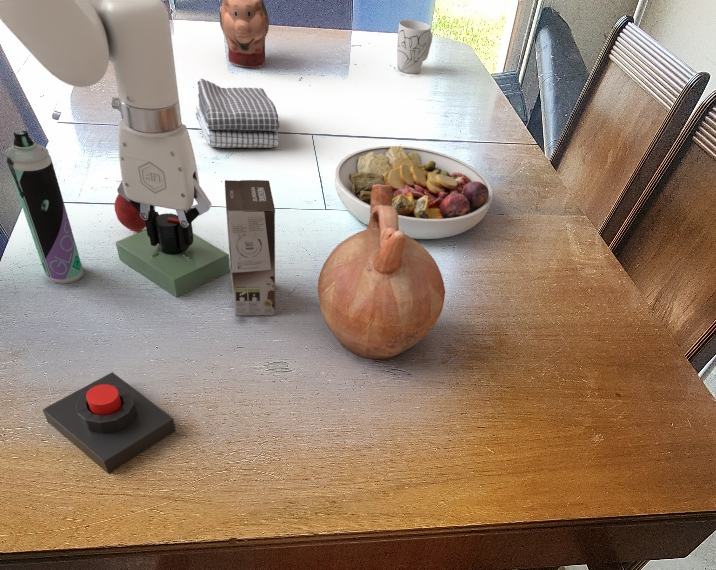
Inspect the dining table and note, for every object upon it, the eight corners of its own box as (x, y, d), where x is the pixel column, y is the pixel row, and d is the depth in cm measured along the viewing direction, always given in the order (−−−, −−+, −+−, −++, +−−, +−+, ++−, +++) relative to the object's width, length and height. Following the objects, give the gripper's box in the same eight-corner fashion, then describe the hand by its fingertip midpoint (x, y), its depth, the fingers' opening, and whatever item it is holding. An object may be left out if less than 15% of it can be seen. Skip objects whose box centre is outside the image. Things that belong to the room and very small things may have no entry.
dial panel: (119, 259, 97) (114, 241, 95) (173, 236, 103) (170, 218, 100) (176, 297, 93) (173, 278, 90) (230, 271, 98) (228, 253, 96)
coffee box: (276, 316, 92) (275, 211, 79) (234, 316, 91) (226, 210, 78) (272, 282, 98) (270, 178, 85) (231, 282, 96) (223, 177, 84)
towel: (209, 153, 123) (205, 110, 117) (195, 117, 133) (191, 75, 127) (282, 151, 127) (282, 109, 121) (263, 115, 137) (262, 75, 131)
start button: (83, 405, 72) (79, 394, 71) (109, 391, 74) (105, 379, 72) (102, 420, 71) (98, 409, 69) (127, 405, 73) (124, 394, 71)
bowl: (308, 218, 111) (309, 173, 105) (366, 158, 129) (370, 117, 123) (462, 264, 107) (473, 221, 100) (500, 196, 124) (512, 155, 118)
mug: (415, 61, 171) (422, 17, 163) (437, 71, 167) (445, 26, 160) (387, 67, 165) (392, 21, 158) (408, 77, 162) (415, 31, 154)
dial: (155, 251, 94) (149, 221, 90) (164, 239, 97) (160, 209, 93) (179, 256, 94) (175, 226, 90) (188, 243, 96) (185, 214, 93)
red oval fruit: (143, 244, 101) (134, 195, 94) (113, 235, 101) (101, 186, 95) (161, 228, 104) (153, 180, 98) (131, 220, 105) (122, 171, 99)
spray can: (69, 287, 91) (24, 145, 76) (38, 277, 92) (-13, 134, 76) (91, 270, 95) (52, 129, 79) (61, 260, 95) (16, 119, 80)
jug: (443, 376, 87) (478, 245, 71) (318, 374, 85) (326, 237, 69) (424, 302, 98) (451, 174, 83) (313, 297, 96) (319, 165, 80)
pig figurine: (220, 46, 163) (216, -21, 152) (266, 48, 165) (264, -18, 154) (224, 73, 151) (219, 2, 140) (273, 75, 153) (272, 6, 142)
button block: (47, 422, 74) (37, 398, 71) (116, 384, 80) (109, 360, 77) (108, 474, 71) (100, 450, 67) (176, 431, 76) (171, 407, 73)
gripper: (78, 113, 78) (110, 246, 93) (203, 136, 78) (215, 266, 92) (103, 93, 83) (130, 223, 97) (221, 114, 82) (230, 242, 97)
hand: (171, 243), depth 95 cm, fingers closed on dial, 4 cm apart
